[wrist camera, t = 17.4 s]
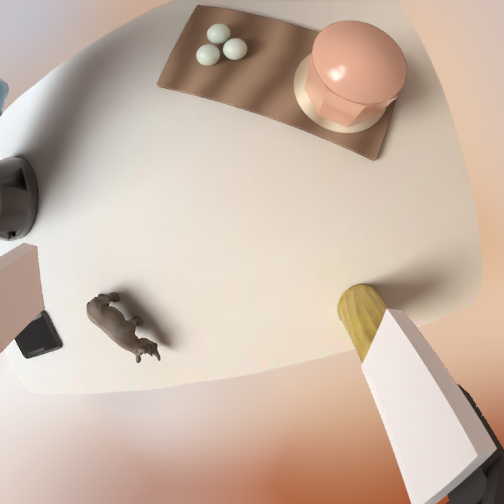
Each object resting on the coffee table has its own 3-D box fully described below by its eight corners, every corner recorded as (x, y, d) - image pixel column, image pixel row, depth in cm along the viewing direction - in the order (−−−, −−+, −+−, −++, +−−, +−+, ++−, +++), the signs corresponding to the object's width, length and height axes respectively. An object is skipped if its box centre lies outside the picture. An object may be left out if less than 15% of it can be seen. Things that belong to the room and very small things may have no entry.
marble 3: (222, 60, 33) (217, 51, 30) (230, 42, 33) (226, 32, 30) (243, 65, 33) (240, 56, 30) (252, 47, 33) (249, 37, 30)
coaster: (279, 111, 34) (279, 110, 34) (311, 36, 31) (311, 34, 31) (371, 149, 34) (372, 148, 33) (396, 71, 31) (397, 70, 31)
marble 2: (196, 66, 34) (189, 57, 31) (205, 48, 33) (199, 38, 30) (216, 71, 34) (211, 62, 31) (225, 52, 33) (221, 42, 30)
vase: (379, 280, 38) (421, 323, 24) (381, 322, 39) (417, 378, 25) (335, 288, 38) (358, 337, 25) (339, 329, 39) (359, 391, 26)
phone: (8, 327, 47) (42, 310, 44) (12, 325, 48) (45, 308, 46) (25, 359, 48) (61, 348, 45) (28, 357, 49) (65, 346, 47)
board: (159, 87, 36) (156, 84, 35) (199, 9, 33) (197, 5, 32) (373, 160, 35) (376, 159, 34) (402, 72, 32) (404, 69, 31)
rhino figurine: (159, 359, 44) (144, 379, 38) (96, 299, 43) (74, 313, 37) (173, 344, 43) (158, 364, 37) (106, 282, 42) (84, 294, 36)
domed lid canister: (327, 135, 34) (341, 115, 24) (294, 71, 32) (295, 34, 23) (391, 112, 32) (422, 89, 22) (357, 51, 31) (376, 13, 21)
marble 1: (206, 45, 33) (200, 35, 30) (215, 28, 32) (210, 18, 29) (227, 49, 33) (222, 39, 30) (235, 32, 32) (231, 22, 29)
